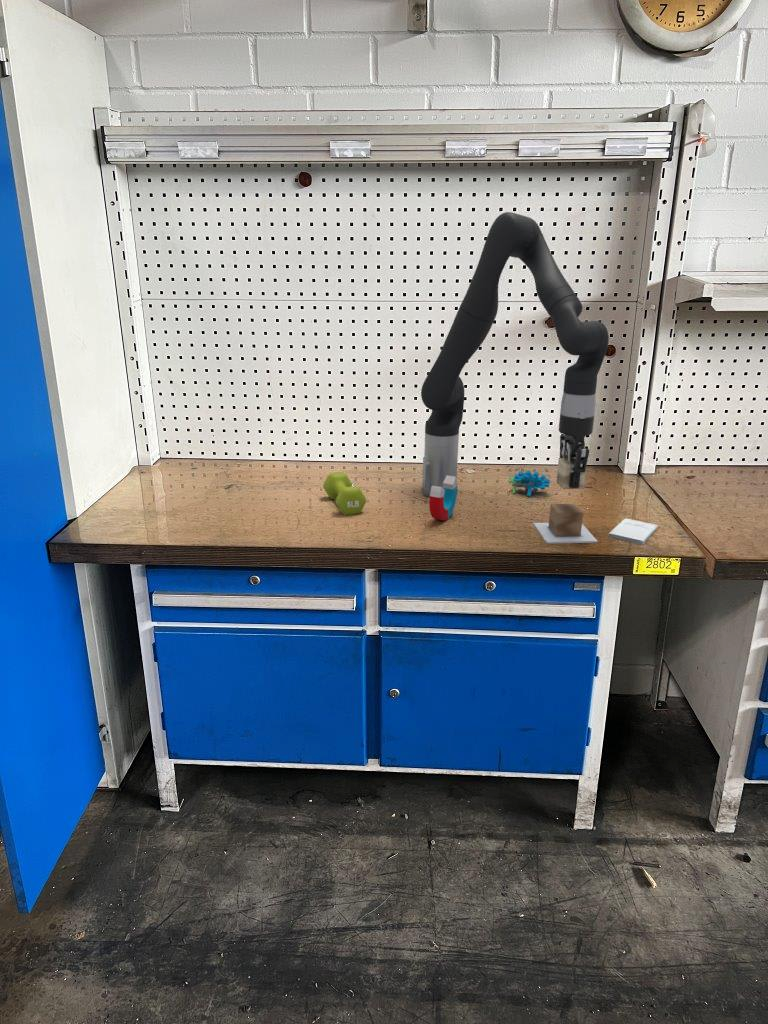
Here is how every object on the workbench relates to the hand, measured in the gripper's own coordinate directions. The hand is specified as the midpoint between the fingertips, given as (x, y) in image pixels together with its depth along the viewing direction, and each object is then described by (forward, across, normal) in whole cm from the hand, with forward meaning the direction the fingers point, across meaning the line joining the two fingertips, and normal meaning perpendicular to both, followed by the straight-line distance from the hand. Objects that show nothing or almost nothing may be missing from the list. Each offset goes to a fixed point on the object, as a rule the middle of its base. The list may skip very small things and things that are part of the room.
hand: (570, 483), depth 163 cm
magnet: (+13, -11, -28) cm, 33 cm away
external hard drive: (+13, 0, +17) cm, 21 cm away
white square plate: (+13, 0, 0) cm, 13 cm away
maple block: (0, 0, 0) cm, 0 cm away
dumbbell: (+13, -22, -53) cm, 59 cm away
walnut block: (+12, 0, 0) cm, 12 cm away
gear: (+13, -30, -1) cm, 32 cm away
